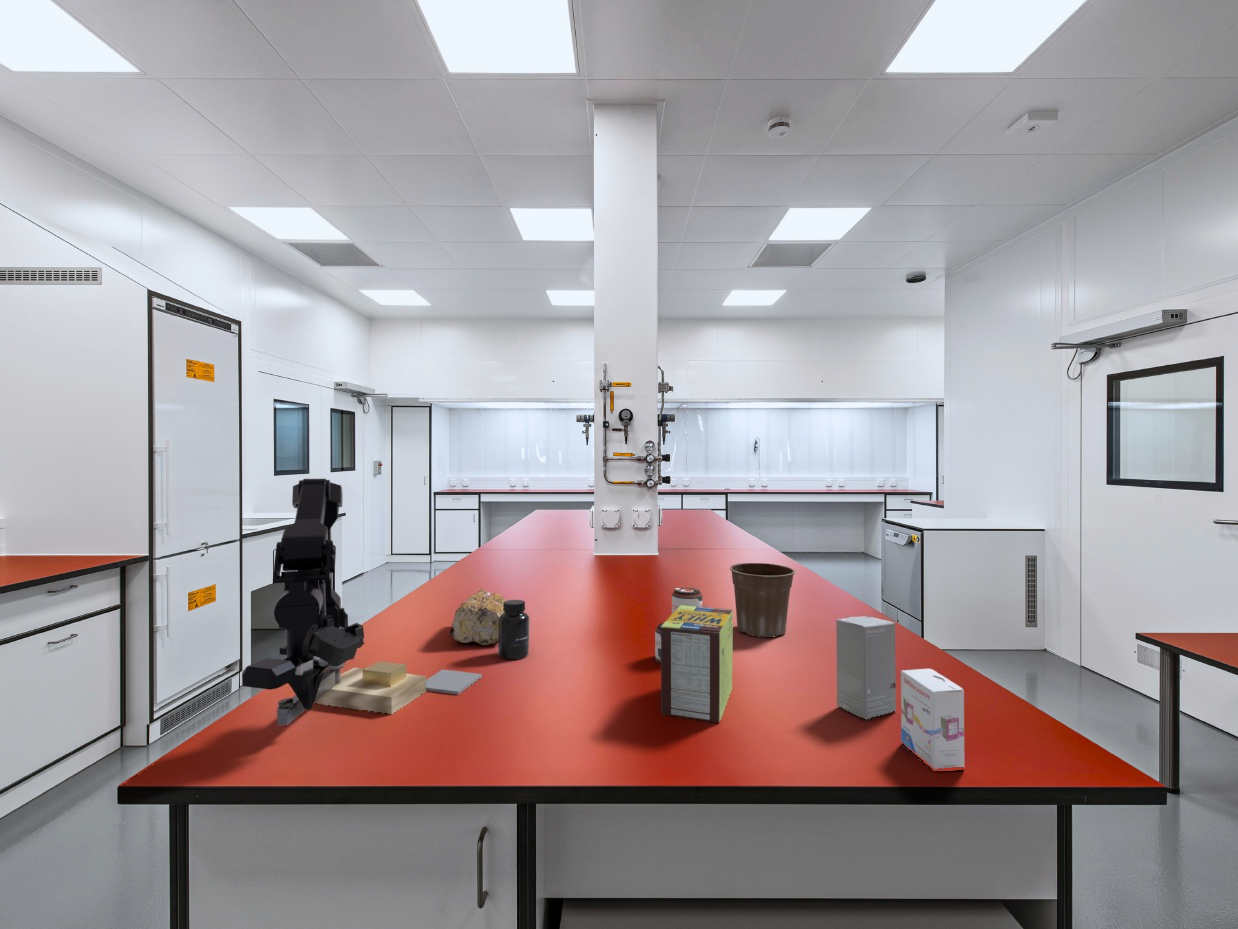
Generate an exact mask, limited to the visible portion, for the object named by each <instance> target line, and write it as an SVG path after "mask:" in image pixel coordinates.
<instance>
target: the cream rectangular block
mask: <svg viewBox="0 0 1238 929" xmlns="http://www.w3.org/2000/svg"><path fill="white" fill-rule="evenodd" d="M344 667H345V662H344V663H343V664H342V665H340V666H331V667H330V668H329V669H328V670H327V671H335V686H333V687H332V688H331V689H330V690H329V691H327V692H326V693H325V694H324V695H323V696H321V697H320V698H319V699H318V700H317V701H315V702H314V704H315V703H317V704H316V705H321V704H323V705H322V706H328V705H331V706H330V707H335V706H340V707H339V708H342V707H344V708H343V709H349V708H351V710H356V709H358V710H357V711H363V710H368V711H367V712H370V711H374V712H373V713H377V712H382V713H381V714H384V713H387V715H391V714H392V715H393V714H395V713H396V712H398V711H399V710H401V709H403V708H404V707H405V706H407V705H409V704H410V703H411V702H413V701H414V700H416V699H417V698H419V697H420V696H422V695H424V694H425V693H427V691H426V680H427V676H426V675H419V674H412V673H406V678H405V679H403V680H402V681H400V682H398V683H397V684H395V685H393V686H392V687H387V686H379V685H371V684H364V683H363V669H364V668H362V667H353V668H351V669H349V670H346V671H344V672H343V673H341V669H343V668H344ZM421 694H422V695H421ZM403 706H404V707H403ZM400 708H401V709H400ZM397 710H398V711H397ZM394 712H395V713H394Z"/></svg>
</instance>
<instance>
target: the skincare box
mask: <svg viewBox="0 0 1238 929" xmlns="http://www.w3.org/2000/svg"><path fill="white" fill-rule="evenodd" d="M835 622H836V623H835V624H836V630H835V631H836V706H837V707H838V706H839V707H841V708H843V709H842V710H844V709H845V710H844V711H846V710H847V711H846V712H848V711H849V713H850V714H853V715H855V716H857V717H859V718H861V717H862V718H864V719H866V720H865V721H868V720H867V719H869V720H871V719H870V718H872V717H875V718H877V717H876V716H878V717H881V716H884V715H887V714H891V713H894V712H893V711H895V712H896V711H897V685H896V684H897V683H896V682H897V681H896V680H897V679H896V678H897V677H896V676H897V675H896V674H897V673H896V669H897V668H896V622H894V621H891V620H887V619H886V620H885V619H882V618H877V617H873V616H869V615H863V616H849V617H844V618H837V619H836V620H835ZM839 707H838V708H839ZM841 708H840V709H841ZM880 715H881V716H880ZM862 718H861V719H862ZM864 719H863V720H864ZM872 719H873V718H872Z"/></svg>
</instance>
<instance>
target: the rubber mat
mask: <svg viewBox="0 0 1238 929" xmlns="http://www.w3.org/2000/svg"><path fill="white" fill-rule="evenodd" d="M482 677H483V674H482V673H475V672H469V671H467V672H466V671H458V670H450V669H441V670H439V671H438V672H436V673H435V674H433V675H432V676H430V677H429V678H426V692H433V691H434V693H442V694H450V695H456V696H457V695H459V694H461V693H462V692H464V691H465V690H467V689H468V688H469V687H471V686H472V685H474V682H475V681H476V682H477V681H478V679H479V678H480V679H482ZM480 679H479V680H480ZM476 682H475V683H476ZM471 684H472V685H471Z"/></svg>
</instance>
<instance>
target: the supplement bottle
mask: <svg viewBox="0 0 1238 929" xmlns="http://www.w3.org/2000/svg"><path fill="white" fill-rule="evenodd" d="M503 611H504V613H503V614H501V615H500V617H499V627H498V640H497V642H498V643H497V655H498V656H499V658H500V659H503V660H508V661H514V660H515V661H516V660H521V659H525V658H527V657H528V655H529V652H530V616H529V614H528V613H527V612H525V611H526V601H525V600H523V599H508V600H506V601H505V602H504V603H503Z"/></svg>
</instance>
